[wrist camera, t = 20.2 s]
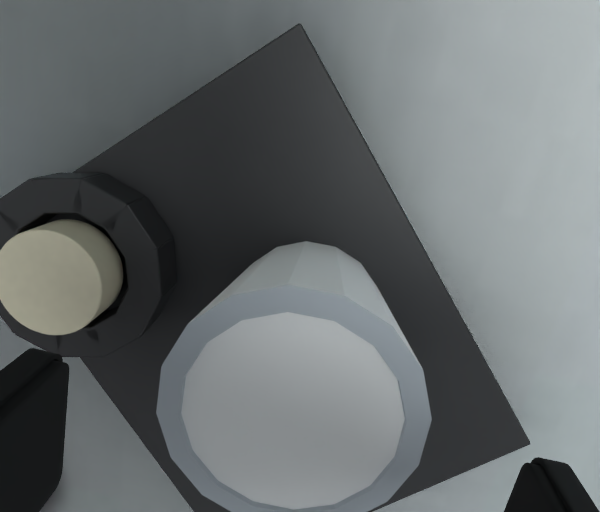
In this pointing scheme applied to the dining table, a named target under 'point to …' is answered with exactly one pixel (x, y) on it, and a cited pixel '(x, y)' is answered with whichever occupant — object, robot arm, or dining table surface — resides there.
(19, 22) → the dining table surface
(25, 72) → the dining table surface
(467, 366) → the scale
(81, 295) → the button
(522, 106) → the dining table surface
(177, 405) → the white cylinder
